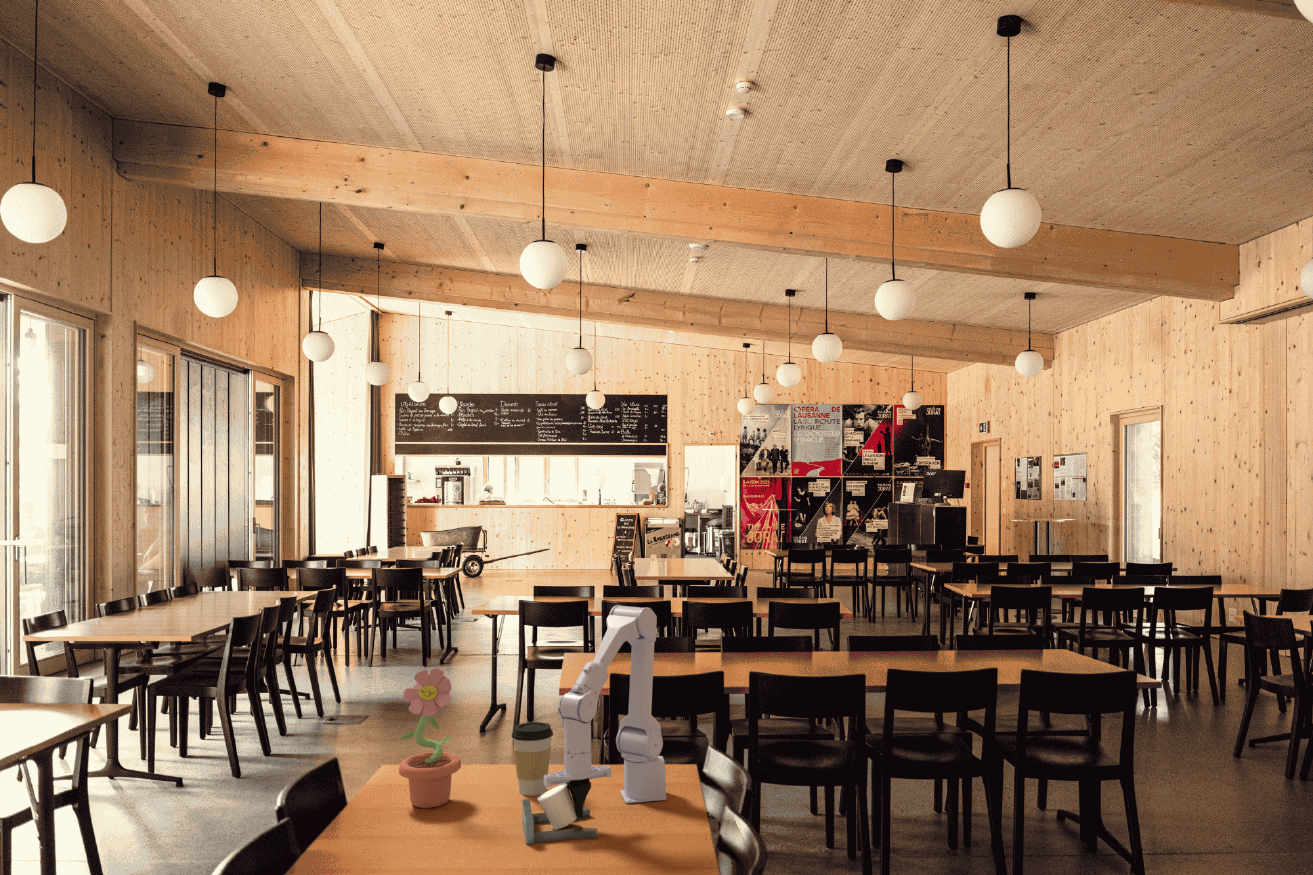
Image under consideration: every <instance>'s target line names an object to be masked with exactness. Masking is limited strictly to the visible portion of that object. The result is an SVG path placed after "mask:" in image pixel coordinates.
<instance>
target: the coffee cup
mask: <svg viewBox="0 0 1313 875" xmlns="http://www.w3.org/2000/svg"><path fill="white" fill-rule="evenodd" d="M553 735H554V732H553V729H552V727H551V725H550V724H549V723H546V722H539V721H530V722H523V723H520V724H517V725H515V726H514V728H513V731H512V732H511V738H512V739H513V745H514V746H513V751H514V760H515V761H514V762H515V772H516V777H517V780H518V790H519V791H518V792H519V794H520V795H523V796H527V797H529V796H530V797H532V796H539V795H540V796H541V795H542V794H543V793H545V792H546V791H547V787H546V786H545V785H544V775H548V774H549V769H550V768H549V767H550V758H551V757H550V756H551V750H552V749H551V748H552V745H551V743H552V736H553Z"/></svg>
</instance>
